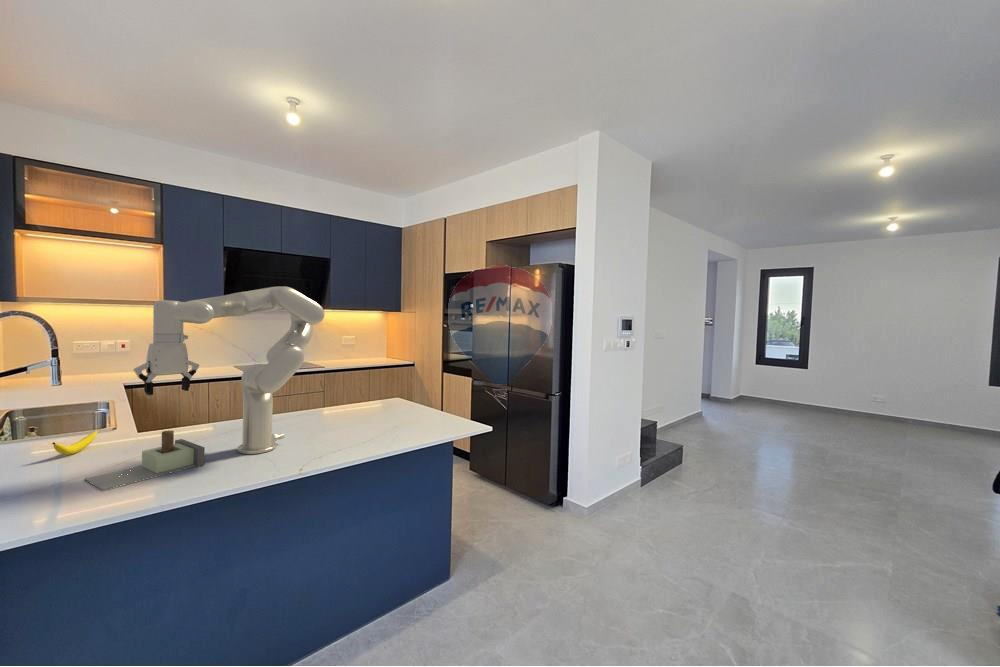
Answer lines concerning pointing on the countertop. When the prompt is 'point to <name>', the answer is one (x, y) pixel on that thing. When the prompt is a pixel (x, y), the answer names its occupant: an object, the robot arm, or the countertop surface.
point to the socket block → (167, 458)
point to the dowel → (167, 441)
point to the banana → (75, 445)
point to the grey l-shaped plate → (143, 470)
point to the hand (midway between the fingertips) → (167, 392)
